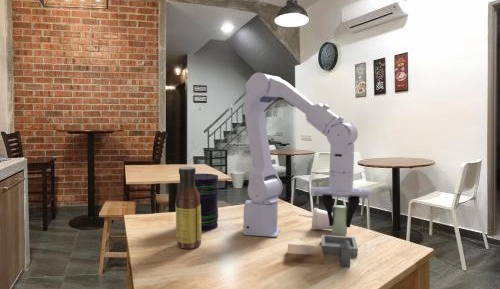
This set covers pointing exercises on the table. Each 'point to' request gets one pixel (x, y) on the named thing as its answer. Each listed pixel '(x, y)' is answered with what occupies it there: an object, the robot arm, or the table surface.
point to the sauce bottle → (188, 210)
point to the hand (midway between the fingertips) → (339, 225)
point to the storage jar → (208, 200)
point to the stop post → (345, 253)
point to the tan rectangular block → (305, 254)
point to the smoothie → (319, 219)
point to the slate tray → (337, 244)
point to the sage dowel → (339, 220)
